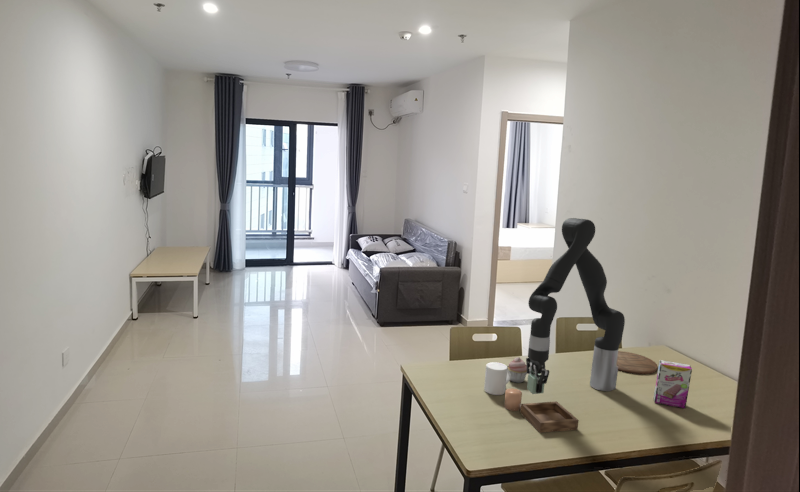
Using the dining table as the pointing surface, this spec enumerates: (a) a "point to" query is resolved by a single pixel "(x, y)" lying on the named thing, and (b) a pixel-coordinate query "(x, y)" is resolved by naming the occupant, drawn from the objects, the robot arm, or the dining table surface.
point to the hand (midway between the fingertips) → (535, 389)
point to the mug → (496, 378)
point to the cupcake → (517, 370)
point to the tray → (549, 417)
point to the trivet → (635, 363)
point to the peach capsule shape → (513, 399)
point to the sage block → (533, 384)
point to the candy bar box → (672, 384)
